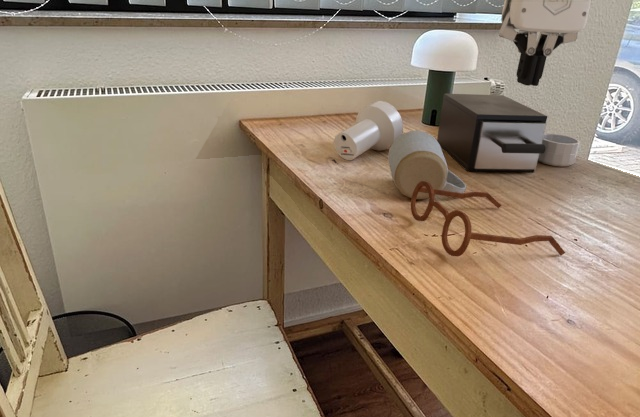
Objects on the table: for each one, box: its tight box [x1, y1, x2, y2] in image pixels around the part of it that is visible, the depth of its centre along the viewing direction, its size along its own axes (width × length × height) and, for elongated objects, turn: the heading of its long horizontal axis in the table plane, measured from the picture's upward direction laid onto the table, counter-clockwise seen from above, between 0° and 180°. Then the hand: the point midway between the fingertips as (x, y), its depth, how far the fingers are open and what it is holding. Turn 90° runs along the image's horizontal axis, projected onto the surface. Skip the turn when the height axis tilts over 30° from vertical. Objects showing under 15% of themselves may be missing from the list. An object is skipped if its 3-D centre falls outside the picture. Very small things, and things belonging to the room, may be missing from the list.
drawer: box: [472, 120, 547, 170], centre depth 79 cm, size 19×10×7 cm, turn 5°
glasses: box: [410, 181, 566, 258], centre depth 56 cm, size 13×13×5 cm
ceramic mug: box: [387, 130, 467, 200], centre depth 67 cm, size 11×8×8 cm
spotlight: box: [333, 100, 404, 161], centre depth 82 cm, size 8×11×8 cm
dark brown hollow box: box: [436, 93, 548, 173], centre depth 83 cm, size 16×11×9 cm
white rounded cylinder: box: [537, 132, 581, 167], centre depth 83 cm, size 6×6×4 cm
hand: (527, 83), depth 69 cm, fingers closed
